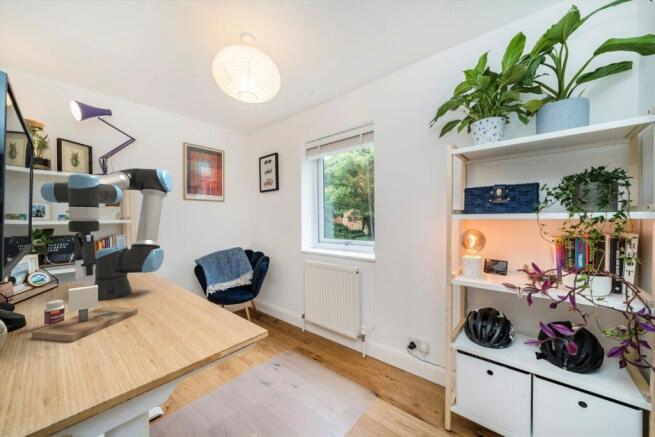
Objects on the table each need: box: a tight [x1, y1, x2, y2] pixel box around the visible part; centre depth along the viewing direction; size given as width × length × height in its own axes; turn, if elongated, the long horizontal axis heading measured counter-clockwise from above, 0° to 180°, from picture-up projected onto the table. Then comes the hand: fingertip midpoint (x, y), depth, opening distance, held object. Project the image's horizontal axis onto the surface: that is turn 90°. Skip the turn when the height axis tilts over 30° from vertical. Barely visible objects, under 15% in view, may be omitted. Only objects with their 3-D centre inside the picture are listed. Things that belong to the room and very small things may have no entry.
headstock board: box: [30, 305, 139, 343], centre depth 86 cm, size 22×15×2 cm
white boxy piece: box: [68, 285, 116, 322], centre depth 86 cm, size 3×12×11 cm, turn 137°
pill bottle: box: [43, 299, 66, 328], centre depth 85 cm, size 5×5×8 cm
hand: (84, 281), depth 84 cm, fingers open, 13 cm apart
